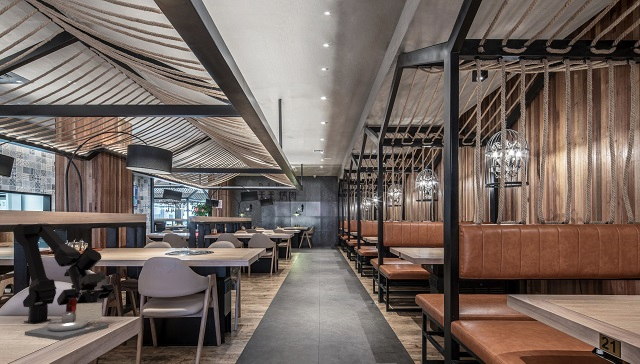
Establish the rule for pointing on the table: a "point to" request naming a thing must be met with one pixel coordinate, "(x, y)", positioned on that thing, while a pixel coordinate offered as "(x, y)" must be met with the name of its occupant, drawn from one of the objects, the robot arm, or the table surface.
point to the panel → (63, 335)
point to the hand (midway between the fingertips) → (95, 313)
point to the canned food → (71, 305)
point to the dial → (77, 317)
